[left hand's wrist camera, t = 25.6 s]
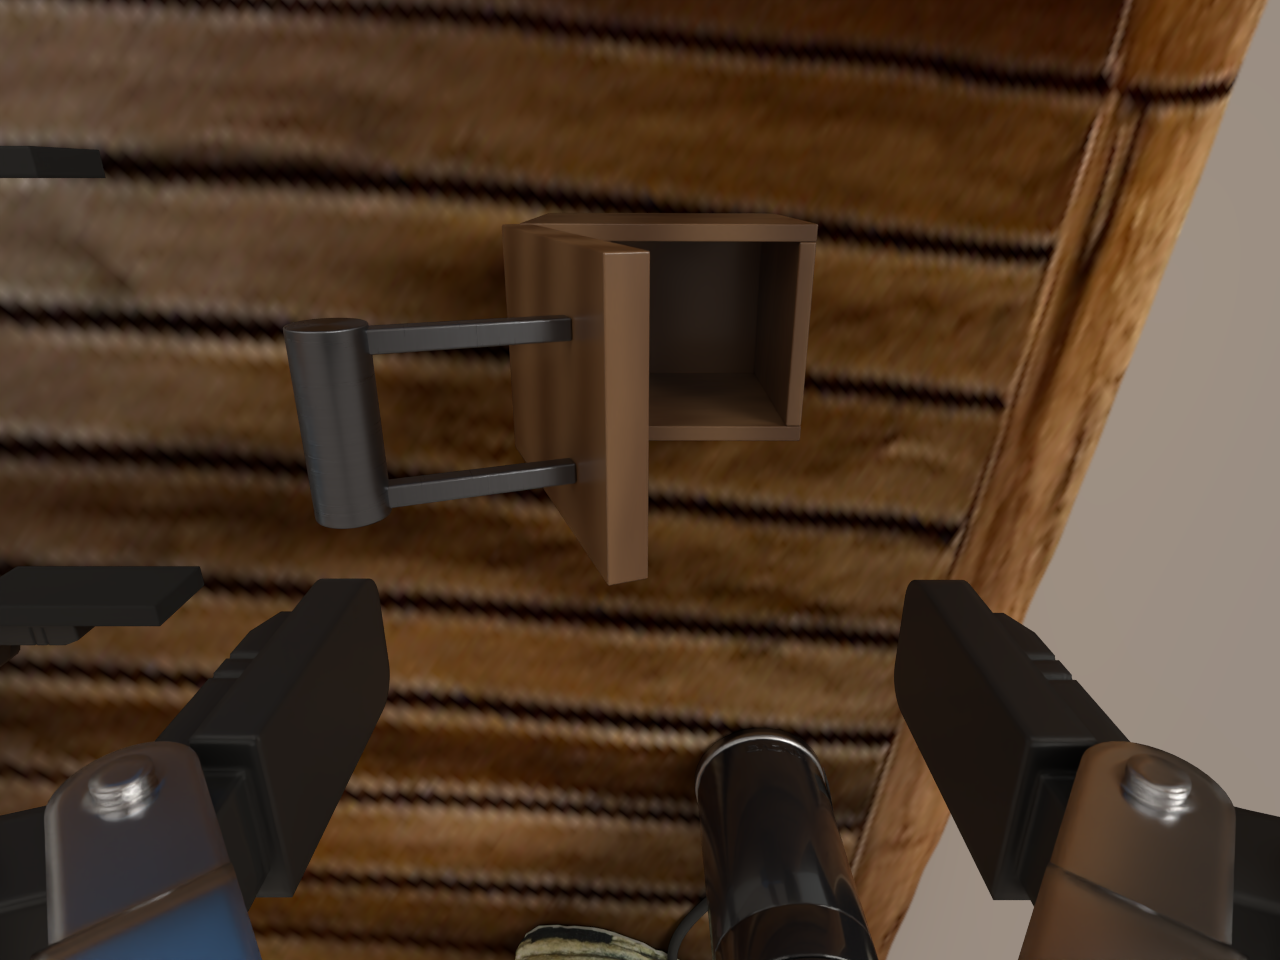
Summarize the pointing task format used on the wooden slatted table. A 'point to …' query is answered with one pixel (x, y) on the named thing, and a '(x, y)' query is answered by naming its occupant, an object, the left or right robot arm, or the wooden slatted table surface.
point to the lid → (541, 391)
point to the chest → (719, 318)
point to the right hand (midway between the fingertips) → (133, 402)
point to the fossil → (582, 945)
